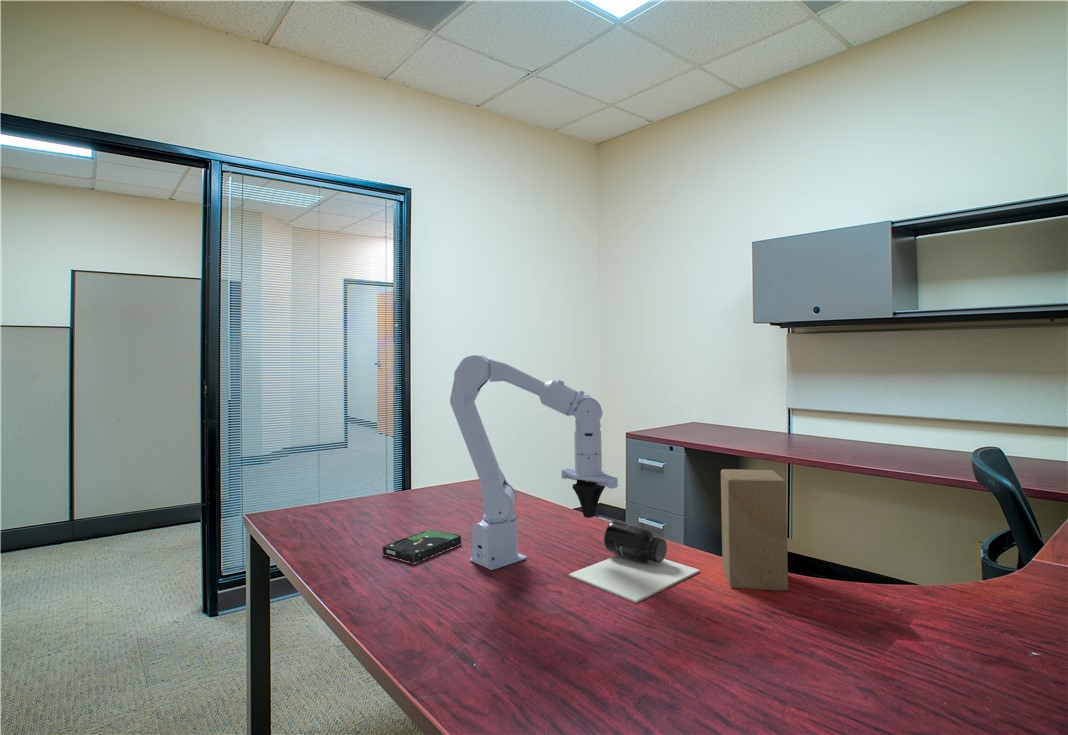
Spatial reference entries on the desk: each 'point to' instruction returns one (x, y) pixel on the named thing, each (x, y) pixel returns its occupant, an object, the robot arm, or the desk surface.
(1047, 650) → the desk surface
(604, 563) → the mat
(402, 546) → the disk drive
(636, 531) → the supplement bottle
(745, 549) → the wooden block
